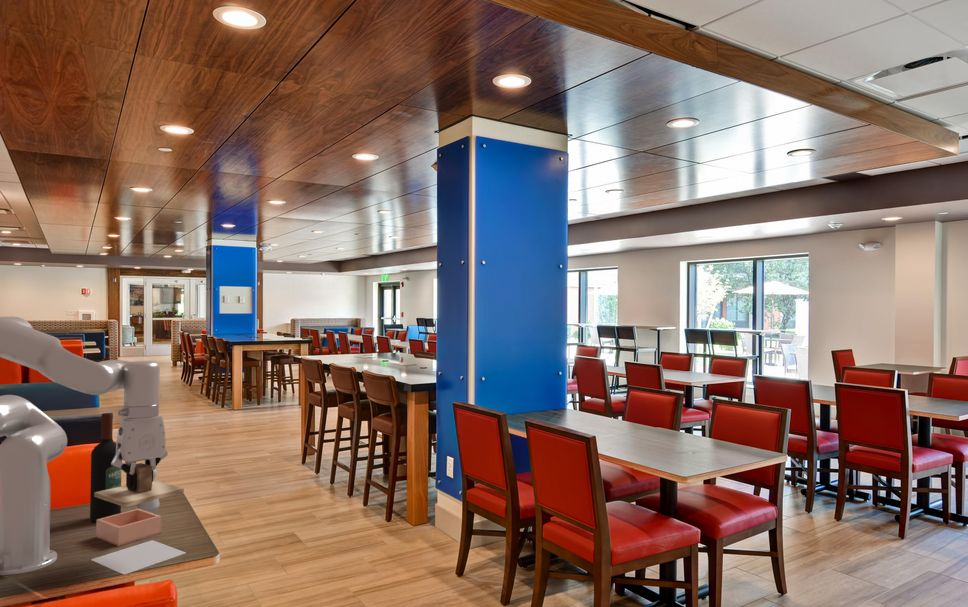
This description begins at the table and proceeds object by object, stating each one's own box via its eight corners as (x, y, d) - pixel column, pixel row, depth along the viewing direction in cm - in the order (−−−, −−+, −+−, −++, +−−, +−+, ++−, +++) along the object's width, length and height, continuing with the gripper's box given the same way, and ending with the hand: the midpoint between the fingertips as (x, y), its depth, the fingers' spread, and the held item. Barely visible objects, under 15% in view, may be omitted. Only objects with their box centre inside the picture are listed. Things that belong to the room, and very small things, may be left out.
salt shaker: (163, 510, 185) (164, 467, 185) (151, 517, 179) (152, 472, 179) (145, 509, 185) (145, 466, 185) (132, 516, 180) (133, 471, 180)
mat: (124, 576, 140) (124, 574, 140) (90, 561, 148) (90, 559, 148) (186, 554, 152) (186, 552, 152) (152, 541, 160) (152, 540, 160)
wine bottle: (101, 513, 182) (103, 411, 182) (126, 514, 181) (128, 411, 182) (83, 522, 174) (85, 415, 174) (109, 523, 174) (111, 416, 174)
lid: (125, 507, 141) (125, 476, 141) (94, 496, 148) (94, 467, 148) (183, 492, 152) (184, 463, 153) (152, 483, 160) (152, 456, 160)
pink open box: (118, 547, 156) (118, 527, 156) (96, 538, 162) (96, 519, 162) (160, 534, 165) (161, 515, 165) (138, 526, 171) (138, 508, 171)
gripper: (114, 418, 142) (112, 499, 141) (182, 409, 155) (180, 482, 155) (97, 415, 146) (96, 493, 145) (165, 406, 159) (163, 478, 159)
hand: (139, 487), depth 150 cm, fingers closed on lid, 3 cm apart
